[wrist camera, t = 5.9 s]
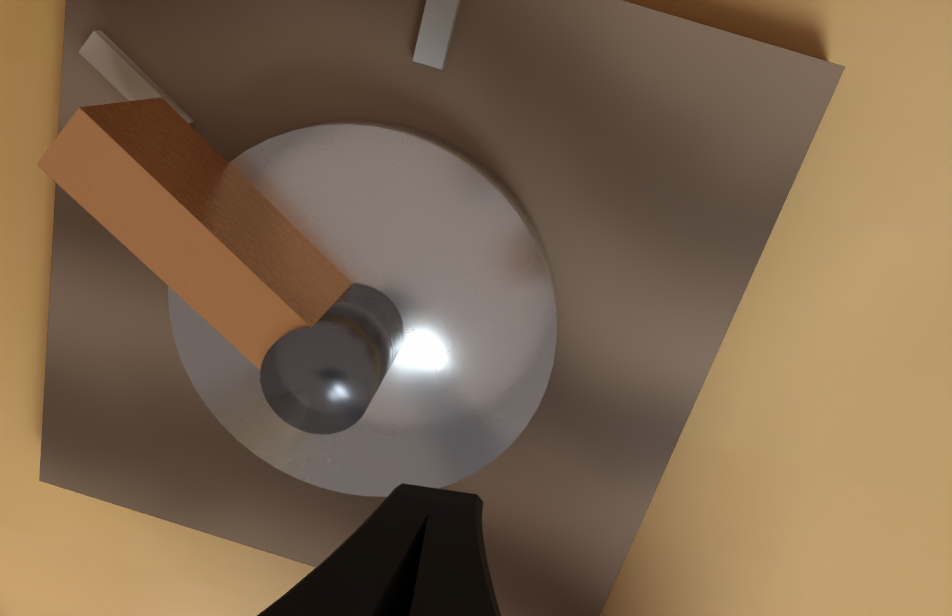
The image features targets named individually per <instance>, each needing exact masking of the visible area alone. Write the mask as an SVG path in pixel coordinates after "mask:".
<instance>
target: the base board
mask: <svg viewBox="0 0 952 616" xmlns="http://www.w3.org/2000/svg"><path fill="white" fill-rule="evenodd" d="M844 68H845V66H841V65H838V64H835V63H831V62H828V61H825V60H821V59H818V58H814V57H811V56H808V55H804V54H801V53H798V52H794V51H791V50H788V49H784V48H781V47H777V46H774V45H771V44H767V43H764V42H761V41H757V40H754V39H751V38H747V37H744V36H740V35H737V34H734V33H730V32H727V31H724V30H720V29H717V28H714V27H710V26H707V25H703V24H700V23H697V22H693V21H690V20H687V19H683V18H680V17H677V16H673V15H670V14H666V13H663V12H660V11H656V10H653V9H650V8H646V7H643V6H640V5H636V4H633V3H629V2H626V1H623V0H66V8H65V26H64V44H63V62H62V80H61V98H60V116H59V134H60V132H61V131H62V130H63V128H64V127H65V126H66V124H67V123H68V122H69V120H70V119H71V118H72V116H73V115H74V114H75V112H76V111H77V109H78V108H79V107H86V106H94V105H102V104H110V103H118V102H127V101H135V100H143V99H151V98H159V97H162V98H163V99H164V100H165V101H166V102H167V103H168V104H170V105H171V106H172V107H173V108H174V109H175V110H176V111H177V112H178V113H179V114H180V115H181V116H182V117H183V118H184V119H185V120H186V121H187V122H188V123H189V124H190V125H191V126H192V127H193V128H194V129H195V130H196V131H197V132H198V133H199V134H200V135H201V136H202V137H203V138H204V139H205V140H206V141H207V142H208V143H209V144H210V145H211V146H213V147H214V148H215V149H216V150H217V151H218V152H219V153H220V154H221V155H222V156H223V157H224V158H225V159H226V160H227V161H228V162H229V163H230V162H231V161H232V160H234V159H235V158H236V157H238V156H239V155H240V154H242V153H243V152H245V151H246V150H248V149H250V148H252V147H254V146H256V145H258V144H260V143H262V142H264V141H266V140H267V139H270V138H273V137H276V136H279V135H282V134H285V133H288V132H291V131H294V130H297V129H300V128H303V127H307V126H310V125H315V124H321V123H326V122H331V121H340V120H372V121H383V122H390V123H394V124H399V125H403V126H407V127H412V128H415V129H418V130H420V131H423V132H426V133H428V134H431V135H434V136H436V137H439V138H441V139H443V140H444V141H446V142H448V143H450V144H452V145H454V146H456V147H458V148H459V149H461V150H463V151H464V152H466V153H467V154H469V155H470V156H471V157H473V158H474V159H476V160H477V161H478V162H480V163H481V164H483V165H484V166H485V167H486V168H487V169H489V170H490V171H491V172H492V173H493V174H494V175H495V176H496V177H497V178H498V179H499V180H500V181H501V182H502V183H504V184H505V186H506V187H507V188H508V189H509V190H510V192H511V193H512V194H513V195H514V196H515V198H516V199H517V200H518V201H519V203H520V204H521V205H522V207H523V208H524V210H525V211H526V213H527V215H528V216H529V218H530V219H531V221H532V223H533V224H534V226H535V228H536V230H537V232H538V234H539V236H540V238H541V241H542V243H543V245H544V247H545V249H546V252H547V256H548V259H549V262H550V266H551V269H552V272H553V277H554V284H555V290H556V296H557V339H556V347H555V355H554V363H553V367H552V371H551V374H550V378H549V382H548V385H547V388H546V390H545V393H544V395H543V397H542V399H541V402H540V404H539V406H538V408H537V410H536V412H535V413H534V415H533V416H532V418H531V420H530V421H529V423H528V424H527V426H526V428H525V429H524V430H523V431H522V432H521V434H520V435H519V436H518V437H517V438H516V439H515V441H514V442H513V443H512V444H511V445H510V446H509V447H508V448H507V449H506V450H505V451H504V452H502V453H501V454H500V455H499V456H498V457H497V458H496V459H495V460H493V461H492V462H490V463H489V464H487V465H486V466H484V467H483V468H482V469H480V470H479V471H477V472H476V473H474V474H472V475H470V476H468V477H466V478H464V479H462V480H460V481H458V482H456V483H453V484H450V485H447V486H444V487H441V488H438V489H444V490H451V491H458V492H465V493H471V494H477V495H478V496H479V497H480V498H481V500H482V501H483V511H482V529H483V538H484V545H485V552H486V557H487V562H488V567H489V571H490V575H491V580H492V584H493V588H494V592H495V596H496V599H497V603H498V606H499V610H500V613H501V616H599V615H600V613H601V611H602V609H603V607H604V604H605V602H606V600H607V598H608V595H609V593H610V591H611V589H612V586H613V584H614V582H615V580H616V577H617V575H618V573H619V571H620V569H621V566H622V564H623V562H624V560H625V557H626V555H627V553H628V551H629V548H630V546H631V544H632V542H633V540H634V537H635V535H636V533H637V531H638V528H639V526H640V524H641V522H642V519H643V517H644V515H645V513H646V510H647V508H648V506H649V504H650V502H651V499H652V497H653V495H654V493H655V490H656V488H657V486H658V484H659V481H660V479H661V477H662V475H663V473H664V470H665V468H666V466H667V464H668V461H669V459H670V457H671V455H672V452H673V450H674V448H675V446H676V443H677V441H678V439H679V437H680V435H681V432H682V430H683V428H684V426H685V423H686V421H687V419H688V417H689V414H690V412H691V410H692V408H693V406H694V403H695V401H696V399H697V397H698V394H699V392H700V390H701V388H702V385H703V383H704V381H705V379H706V376H707V374H708V372H709V370H710V368H711V365H712V363H713V361H714V359H715V356H716V354H717V352H718V350H719V347H720V345H721V343H722V341H723V339H724V336H725V334H726V332H727V330H728V327H729V325H730V323H731V321H732V318H733V316H734V314H735V312H736V309H737V307H738V305H739V303H740V301H741V298H742V296H743V294H744V292H745V289H746V287H747V285H748V283H749V280H750V278H751V276H752V274H753V272H754V269H755V267H756V265H757V263H758V260H759V258H760V256H761V254H762V251H763V249H764V247H765V245H766V242H767V240H768V238H769V236H770V234H771V231H772V229H773V227H774V225H775V222H776V220H777V218H778V216H779V213H780V211H781V209H782V207H783V205H784V202H785V200H786V198H787V196H788V193H789V191H790V189H791V187H792V184H793V182H794V180H795V178H796V175H797V173H798V171H799V169H800V167H801V164H802V162H803V160H804V158H805V155H806V153H807V151H808V149H809V146H810V144H811V142H812V140H813V138H814V135H815V133H816V131H817V129H818V126H819V124H820V122H821V120H822V117H823V115H824V113H825V111H826V108H827V106H828V104H829V102H830V100H831V97H832V95H833V93H834V91H835V88H836V86H837V84H838V82H839V79H840V77H841V75H842V73H843V70H844ZM59 134H58V135H59ZM39 481H42V482H45V483H49V484H52V485H55V486H58V487H61V488H64V489H68V490H71V491H74V492H77V493H80V494H84V495H87V496H90V497H93V498H96V499H100V500H103V501H106V502H109V503H112V504H116V505H119V506H122V507H125V508H128V509H131V510H135V511H138V512H141V513H144V514H147V515H151V516H154V517H157V518H160V519H163V520H167V521H170V522H173V523H176V524H179V525H183V526H186V527H189V528H192V529H195V530H198V531H202V532H205V533H208V534H211V535H214V536H218V537H221V538H224V539H227V540H230V541H234V542H237V543H240V544H243V545H246V546H250V547H253V548H256V549H259V550H262V551H265V552H269V553H272V554H275V555H278V556H281V557H285V558H288V559H291V560H294V561H297V562H301V563H304V564H307V565H310V566H313V567H317V566H319V565H320V564H321V563H322V562H323V561H324V560H325V559H326V558H328V557H329V556H330V555H331V554H332V553H333V552H334V551H335V550H336V549H337V548H338V547H339V546H340V545H341V544H342V543H343V542H344V541H345V540H346V539H347V538H348V537H349V536H351V535H352V534H353V533H354V532H355V531H356V530H357V529H358V528H359V527H360V526H361V525H362V523H363V522H364V521H365V520H366V519H367V518H368V517H369V516H370V515H371V514H372V513H373V512H374V511H375V510H376V509H377V508H378V507H379V506H380V504H381V503H382V502H383V501H384V500H385V499H386V498H387V497H375V496H360V495H353V494H346V493H340V492H337V491H333V490H329V489H325V488H321V487H318V486H315V485H312V484H310V483H307V482H304V481H302V480H299V479H297V478H295V477H293V476H291V475H289V474H287V473H285V472H283V471H281V470H279V469H277V468H275V467H273V466H272V465H270V464H269V463H267V462H266V461H264V460H263V459H261V458H259V457H258V456H256V455H255V454H254V453H253V452H251V451H250V450H249V449H248V448H246V447H245V446H244V445H243V444H241V443H240V442H239V441H238V440H237V439H236V438H235V437H234V436H233V435H232V434H231V433H230V432H229V431H228V430H227V429H226V428H225V427H224V426H223V425H222V424H221V423H220V422H219V421H218V420H217V418H216V417H215V416H214V415H213V413H212V412H211V411H210V410H209V409H208V407H207V406H206V405H205V403H204V402H203V400H202V398H201V397H200V395H199V394H198V392H197V391H196V389H195V387H194V386H193V384H192V382H191V380H190V378H189V376H188V374H187V372H186V370H185V368H184V366H183V364H182V361H181V358H180V355H179V352H178V349H177V346H176V343H175V340H174V336H173V331H172V326H171V322H170V316H169V303H168V285H167V284H166V283H165V282H164V281H162V280H161V279H160V278H159V277H158V276H157V275H156V274H155V273H154V272H153V271H152V270H150V269H149V268H148V267H147V266H146V265H145V264H144V263H143V262H142V261H141V260H140V259H139V258H137V257H136V256H135V255H134V254H133V253H132V252H131V251H130V250H129V249H128V248H127V247H126V246H124V245H123V244H122V243H121V242H120V241H119V240H118V239H117V238H116V237H115V236H114V235H112V234H111V233H110V232H109V231H108V230H107V229H106V228H105V227H104V226H103V225H102V224H101V223H99V222H98V221H97V220H96V219H95V218H94V217H93V216H92V215H91V214H90V213H89V212H88V211H86V210H85V209H84V208H83V207H82V206H81V205H80V204H79V203H78V202H77V201H76V200H74V199H73V198H72V197H71V196H70V195H69V194H68V193H67V192H66V191H65V190H64V189H63V188H61V187H60V186H59V185H58V184H57V183H56V189H55V207H54V225H53V243H52V261H51V279H50V297H49V315H48V333H47V351H46V370H45V388H44V406H43V424H42V442H41V460H40V478H39Z"/></svg>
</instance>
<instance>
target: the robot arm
mask: <svg viewBox="0 0 952 616" xmlns="http://www.w3.org/2000/svg"><path fill="white" fill-rule="evenodd" d="M482 511H483V501H482V500H481V498H480V497H479V496H478V495H477V494H471V493H465V492H458V491H451V490H444V489H438V488H431V487H424V486H417V485H411V484H404V483H402V484H400V485H399V486H397V487H396V488H395V489H394V490H393V491H392V492H391V493H390V494H389V495H388V497H387V498H386V499H385V500H384V501H383V502H382V503H381V504H380V506H379V507H378V508H377V509H376V510H375V511H374V512H373V513H372V514H371V515H370V516H369V517H368V518H367V519H366V520H365V521H364V522H363V523H362V525H361V526H360V527H359V528H358V529H357V530H356V531H355V532H354V533H353V534H352V535H351V536H349V537H348V538H347V539H346V540H345V541H344V542H343V543H342V544H341V545H340V546H339V547H338V548H337V549H336V550H335V551H334V552H333V553H332V554H331V555H330V556H329V557H328V558H326V559H325V560H324V561H323V562H322V563H321V564H320V565H319V566H317V567H316V568H315V569H314V570H313V571H312V572H310V573H309V574H308V575H307V576H306V577H305V578H303V579H302V580H301V581H300V582H299V583H297V584H296V585H295V586H294V587H293V588H292V589H290V590H289V591H288V592H287V593H286V594H284V595H283V596H282V597H281V598H279V599H278V600H277V601H276V602H274V603H273V604H272V605H270V606H269V607H268V608H267V609H265V610H264V611H263V612H261V613H260V614H259V615H257V616H501V613H500V610H499V606H498V603H497V599H496V596H495V592H494V588H493V584H492V580H491V575H490V571H489V567H488V562H487V557H486V552H485V545H484V538H483V529H482Z"/></svg>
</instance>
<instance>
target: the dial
mask: <svg viewBox="0 0 952 616" xmlns="http://www.w3.org/2000/svg"><path fill="white" fill-rule="evenodd" d="M37 165H38V166H39V167H40V168H41V169H42V170H43V171H44V172H45V173H46V174H47V175H48V176H49V177H51V178H52V179H53V180H54V181H55V182H56V183H57V184H58V185H59V186H60V187H61V188H63V189H64V190H65V191H66V192H67V193H68V194H69V195H70V196H71V197H72V198H73V199H74V200H76V201H77V202H78V203H79V204H80V205H81V206H82V207H83V208H84V209H85V210H86V211H88V212H89V213H90V214H91V215H92V216H93V217H94V218H95V219H96V220H97V221H98V222H99V223H101V224H102V225H103V226H104V227H105V228H106V229H107V230H108V231H109V232H110V233H111V234H112V235H114V236H115V237H116V238H117V239H118V240H119V241H120V242H121V243H122V244H123V245H124V246H126V247H127V248H128V249H129V250H130V251H131V252H132V253H133V254H134V255H135V256H136V257H137V258H139V259H140V260H141V261H142V262H143V263H144V264H145V265H146V266H147V267H148V268H149V269H150V270H152V271H153V272H154V273H155V274H156V275H157V276H158V277H159V278H160V279H161V280H162V281H164V282H165V283H166V284H167V285H168V303H169V316H170V322H171V326H172V331H173V336H174V340H175V343H176V346H177V349H178V352H179V355H180V358H181V361H182V364H183V366H184V368H185V370H186V372H187V374H188V376H189V378H190V380H191V382H192V384H193V386H194V387H195V389H196V391H197V392H198V394H199V395H200V397H201V398H202V400H203V402H204V403H205V405H206V406H207V407H208V409H209V410H210V411H211V412H212V413H213V415H214V416H215V417H216V418H217V420H218V421H219V422H220V423H221V424H222V425H223V426H224V427H225V428H226V429H227V430H228V431H229V432H230V433H231V434H232V435H233V436H234V437H235V438H236V439H237V440H238V441H239V442H240V443H241V444H243V445H244V446H245V447H246V448H248V449H249V450H250V451H251V452H253V453H254V454H255V455H256V456H258V457H259V458H261V459H263V460H264V461H266V462H267V463H269V464H270V465H272V466H273V467H275V468H277V469H279V470H281V471H283V472H285V473H287V474H289V475H291V476H293V477H295V478H297V479H299V480H302V481H304V482H307V483H310V484H312V485H315V486H318V487H321V488H325V489H329V490H333V491H337V492H340V493H346V494H353V495H360V496H375V497H388V495H389V494H390V493H391V492H392V491H393V490H394V489H395V488H396V487H397V486H399V485H400V484H402V483H404V484H411V485H417V486H424V487H431V488H441V487H444V486H447V485H450V484H453V483H456V482H458V481H460V480H462V479H464V478H466V477H468V476H470V475H472V474H474V473H476V472H477V471H479V470H480V469H482V468H483V467H484V466H486V465H487V464H489V463H490V462H492V461H493V460H495V459H496V458H497V457H498V456H499V455H500V454H501V453H502V452H504V451H505V450H506V449H507V448H508V447H509V446H510V445H511V444H512V443H513V442H514V441H515V439H516V438H517V437H518V436H519V435H520V434H521V432H522V431H523V430H524V429H525V428H526V426H527V424H528V423H529V421H530V420H531V418H532V416H533V415H534V413H535V412H536V410H537V408H538V406H539V404H540V402H541V399H542V397H543V395H544V393H545V390H546V388H547V385H548V382H549V378H550V374H551V371H552V367H553V363H554V355H555V347H556V339H557V296H556V290H555V284H554V277H553V272H552V269H551V266H550V262H549V259H548V256H547V252H546V249H545V247H544V245H543V243H542V241H541V238H540V236H539V234H538V232H537V230H536V228H535V226H534V224H533V223H532V221H531V219H530V218H529V216H528V215H527V213H526V211H525V210H524V208H523V207H522V205H521V204H520V203H519V201H518V200H517V199H516V198H515V196H514V195H513V194H512V193H511V192H510V190H509V189H508V188H507V187H506V186H505V184H504V183H502V182H501V181H500V180H499V179H498V178H497V177H496V176H495V175H494V174H493V173H492V172H491V171H490V170H489V169H487V168H486V167H485V166H484V165H483V164H481V163H480V162H478V161H477V160H476V159H474V158H473V157H471V156H470V155H469V154H467V153H466V152H464V151H463V150H461V149H459V148H458V147H456V146H454V145H452V144H450V143H448V142H446V141H444V140H443V139H441V138H439V137H436V136H434V135H431V134H428V133H426V132H423V131H420V130H418V129H415V128H412V127H407V126H403V125H399V124H394V123H390V122H383V121H372V120H340V121H331V122H326V123H321V124H315V125H310V126H307V127H303V128H300V129H297V130H294V131H291V132H288V133H285V134H282V135H279V136H276V137H273V138H270V139H267V140H266V141H264V142H262V143H260V144H258V145H256V146H254V147H252V148H250V149H248V150H246V151H245V152H243V153H242V154H240V155H239V156H238V157H236V158H235V159H234V160H232V161H231V162H230V163H229V162H228V161H227V160H226V159H225V158H224V157H223V156H222V155H221V154H220V153H219V152H218V151H217V150H216V149H215V148H214V147H213V146H211V145H210V144H209V143H208V142H207V141H206V140H205V139H204V138H203V137H202V136H201V135H200V134H199V133H198V132H197V131H196V130H195V129H194V128H193V127H192V126H191V125H190V124H189V123H188V122H187V121H186V120H185V119H184V118H183V117H182V116H181V115H180V114H179V113H178V112H177V111H176V110H175V109H174V108H173V107H172V106H171V105H170V104H168V103H167V102H166V101H165V100H164V99H163V98H162V97H159V98H151V99H143V100H135V101H127V102H118V103H110V104H102V105H94V106H86V107H79V108H78V109H77V111H76V112H75V114H74V115H73V116H72V118H71V119H70V120H69V122H68V123H67V124H66V126H65V127H64V128H63V130H62V131H61V132H60V134H59V135H58V137H57V138H56V139H55V141H54V142H53V143H52V145H51V146H50V147H49V149H48V150H47V151H46V153H45V154H44V155H43V157H42V158H41V160H40V161H39V162H38V164H37Z"/></svg>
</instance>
